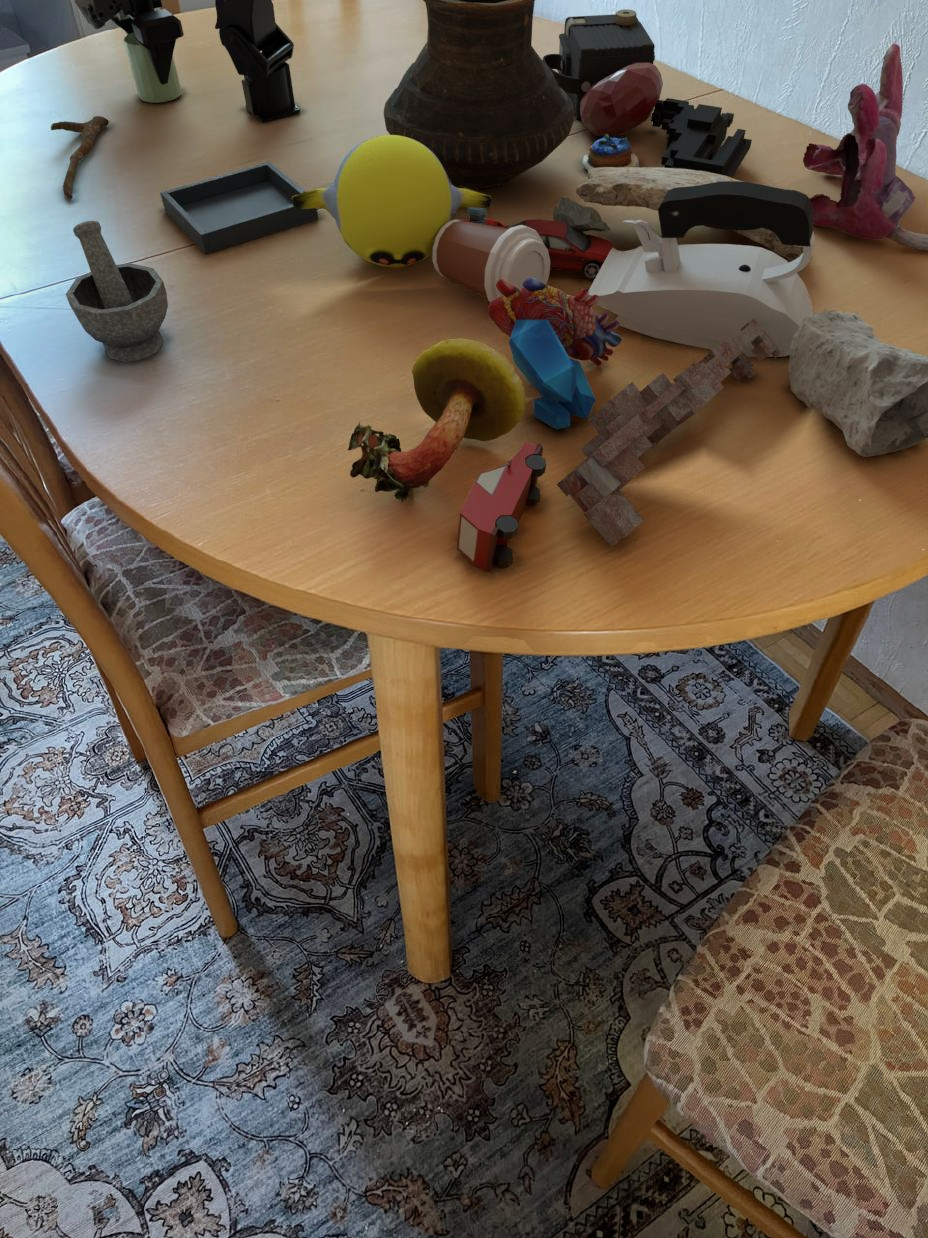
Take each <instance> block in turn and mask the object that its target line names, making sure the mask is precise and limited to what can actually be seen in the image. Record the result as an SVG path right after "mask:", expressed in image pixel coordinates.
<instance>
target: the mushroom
mask: <svg viewBox="0 0 928 1238" xmlns="http://www.w3.org/2000/svg"><path fill="white" fill-rule="evenodd" d="M411 374H412V378H413V387H414V391H415V396H416V398H417V401H418V403H419V405H420V407H421V409H422V411H423V412H424V414H426V415H427V417H429V418H430V419H431V420H433V421H434V422H435V423H434V424H433V426H432V427H431V428H430V429H429V431H428V432H427V434H426V435H425V437H424V438H423V440H422V441H421V442H420V443H419V444H418V445H417V446H416V447H414V448H412V449H409V450H407V451H402V448H401V441H400V438H397V435H396V434H391V433H385V432H384V431H382V430H381V431H380V430H376V429H373V428H372V427H373V426H372V425H371V426H370V424H367V425H362V424H361V422H360V421H358V425H356V427H354V430H353V433H351V434H350V435H351V436H350V439H349V444H348V448H347V451H353V450H356V449H358V448H360V449H361V457H360V458H359V459H357V460H356V461H354V462H352V465H351V469H350V473H349V476H350V477H351V478H353V479H354V478H357V477H358V476H362V478H364V479H365V480H369V479H371V478H373V479H374V480H376V483H375V485H374V492H375V493H379V492H387V493H388V492H389V493H391V492H394V491H396V492H395V493H394V495H393V496H394V497H395V500H397V501H400V503H401V504H404V502H405V501H406V500H407V498H410V493H411V490H412V489H419V488H420V487H422V486H423V487H424V488H428V487H429V486H430V481H431V480H432V479H433V478H434V477H435V476H436V475H438V474H439V472H441V471H442V469H444V467H445V465H446V464H447V463H448V462H449V461H450V460H451V458H452V456H453V455H454V454H455V452H456V451H457V450H458V448H459V446H460V445H461V443H462V441H463V439H465V440H477V441H480V442H487V441H492V440H496V439H498V438H499V437H502V436H505V435H506V434H508V433H509V432H511V431H512V430H513V429H514V428H515V426H517V424H518V423H519V422H520V420H521V419H522V416H523V414H524V411H525V409H526V405H527V403H526V402H527V401H526V397H527V395H526V387H525V385H524V381H523V379H522V378H521V376H519V374H518V373H517V372H516V369H515V365H514V364H513V363H512V362H511V361H510V359H509V358H508V357H507V356H505V355H504V354H503V353H502V352H501V351H498V349H495V348H493V347H491V346H489V345H487V344H485V343H483V342H481V341H477V340H473V339H470V338H461V337H460V338H459V337H458V338H448V339H443V340H441V341H439V342H438V343H435V344H433V345H432V346H431V347H429V348H427V349H425V350H423V352H421V353H420V355H419V356H418V357H417V358H416V359H415V362H414V363H413V365H412V369H411ZM384 433H385V434H384Z"/></svg>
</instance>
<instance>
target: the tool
mask: <svg viewBox="0 0 928 1238" xmlns="http://www.w3.org/2000/svg"><path fill="white" fill-rule="evenodd" d="M689 103H690V101H688V100H682V99H677V98H676V99H675V98H670V97H667V98H666V99H665V100H663V99H659V100H658V102H657V103H656V105H655V107H654V109H653V110H652V112H651V118H650V122H651V127H653V128H658V129H659V128H660V130H661V131H665V134H666V135H667V141H666V147H665V151H664V152H663V154H662V155H661V159H660V165H661V166H664V167H663V168H676V169H689V170H695V171H706V172H710V173H715V174H720V175H725V176H728V177H731V178H733V177H734V176H735V174H736V173H737V171H738V169H739V168H740V165H741V164H742V162H743V161H744V160H745V157H746V156H747V155H748V153H749V151H750V149H751V146H752V141H753V139H751V138H745V136H746V132H747V131H746V129H742V128H737V129H736V131H735V133H733V136H731V135H728V136H727V133H728V128H730V127H731V125H732V124H733V122H734V117H735V113H732V112H726V113H725V112H722V111H723V107H722V106H716V105H715V106H714V105H708V104H702V103H699V104H697V106H696V107H695V105H694V104H689Z"/></svg>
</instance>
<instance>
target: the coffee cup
mask: <svg viewBox="0 0 928 1238" xmlns="http://www.w3.org/2000/svg"><path fill="white" fill-rule="evenodd" d="M461 220H462V219H458V218H457V219H453V220H450V221H449V222H448V223H446V224H445V225H444V226H443V227H442V228H441V229H440V231H439V233H438V234H437V236H436V238H435V242H434V246H433V253H432V263H433V266H434V270H435V271H436V272H437V273H438V275H440V277H442V278H445V279H447V280H449V281H451V282H453V283H456V284H457V285H459V286H461V287H464V289H467V290H470V291H472V292H473V293H476V294H477V295H480V296H482V297H484V298H486V299H487V300H488V302H489V303H490V302H491V301H493V300H494V299H496V298H499V297H501V296H503V294H502V293H501V292H500V291H499V290H498V289H497V287H496V283H497V282H498V281H499V280H500V279H505V280H507V281H508V282H510V283H511V284H512V285H514V286H515V287H517V288H518V289H519V288H524V287H523V282H524V281H525V280H527V279H529V278H536V279H538V280H539V281H541V282H542V283H544V284H545V285H547V283H548V280H549V277H550V271H551V269H550V258H549V253H548V250H547V248H546V247H545V245H544V244H543V240H542V239H541V237H540V236H539V234H538V233H537V231H536V230H534V229H532V228H529V227H527V226H524V225H519V226H515V227H511V228H509V229H506V228H501V227H495V226H489V225H484V224H478V223H472V222H467V221H461Z"/></svg>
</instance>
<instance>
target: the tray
mask: <svg viewBox="0 0 928 1238" xmlns="http://www.w3.org/2000/svg"><path fill="white" fill-rule="evenodd" d="M304 192H306V190H304V189H303V188H302V187H301V186H300V185H298V183H296V182H295V181H294V180H292V179H291V178H290V177H289V176H288V175H286V174H285V173H284V172H283V171H281V170H280V168H278V167H277V166H276V165H275V164H273V163H272V162H271V161H266V162H263V163H259V164H257V165H256V164H255V165H253V166H252V165H251V166H249V167H244V168H241V169H238V170H235V171H230V172H228V173H224V174H220V175H217V176H213V177H210V178H206V179H203V180H199V181H196V182H191V183H189V184H185V185H182V186H179V187H174V188H171V189H168V190H164V191H161V192H160V193H159V194H160V198H161V202H162V205H163V208H164V213H166V214H167V215H168V216H169V217H170V218H171V219H172V221H174V222H175V224H176V225H178V226H179V228H180V229H181V230H182V231H183V232H184V233H185V234H186V236H188V237H189V238H190V240H191V241H192V242H193V243H194V244H195V245H196V246H197V247H198V248H199V249H200V250H201V251H202V252H203V253H204V254H205V255H208V254H211V253H215V252H218V251H221V250H225V249H227V248H231V247H233V246H237V245H240V244H243V243H247V242H249V241H253V240H256V239H260V238H262V237H265V236H268V235H272V234H275V233H278V232H282V231H285V230H288V229H291V228H294V227H297V226H300V225H304V224H307V223H310V222H313V221H317V220H319V214H318V208H311V209H298V208H295V207H294V206H293V204H292V197H293V196H295V195H298V194H301V193H304Z"/></svg>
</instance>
